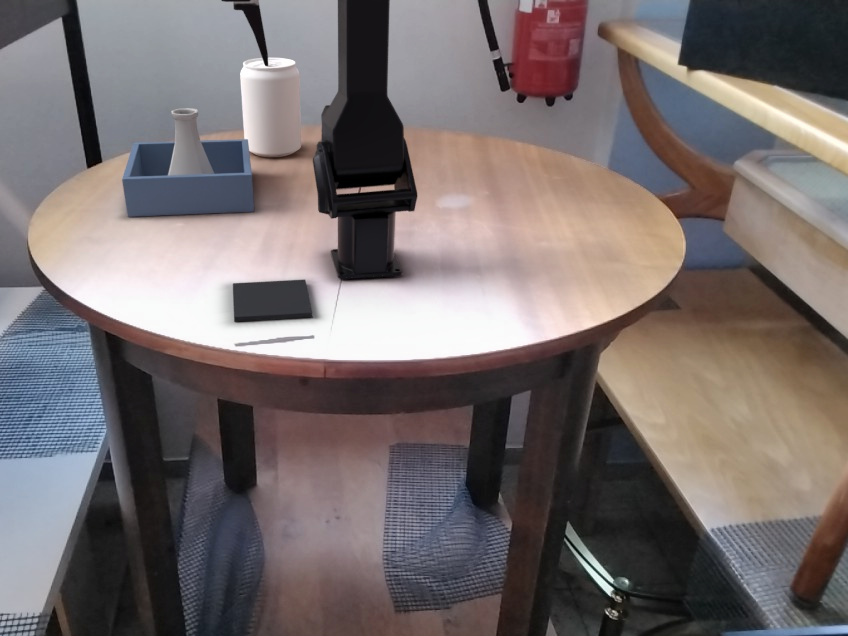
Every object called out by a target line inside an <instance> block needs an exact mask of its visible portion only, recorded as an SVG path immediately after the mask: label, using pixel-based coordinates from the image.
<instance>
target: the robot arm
mask: <svg viewBox="0 0 848 636" xmlns="http://www.w3.org/2000/svg"><path fill="white" fill-rule="evenodd" d="M220 1H221V2H225V3H232V4H233V5H232V6H233V10H234V11H242V12H243V15H244V16H245V18H246V20H247V22H248V25H249V27H250V29H251V30H252V32H253V35H254V38H255V41H256V44H257V47H258V49H259V52H260V56H261V58H262V59H263V62H264V64H265V66H268V58H269V53H268V47H267V42H266V36H265V31H264V25H263V18H262V13H261V7H260V1H259V0H220ZM390 1H391V0H337V92H336V94H335V96H334V97H333V99H332V101H331V103H330V104H328V105H327V104H326V105H324V107H323V110H322V112H321V116H320V119H321V120H320V121H321V140H320V141H317V144H316V151H315V153H314V156H313V157H312V166H313V171H314V179H315V186H316V192H317V212H318V213H319V214H324V215H328V216H329V218H330V219H337V248H333V249H331V250H330V257H331V260H332V263H333V267H334V270H335V274H336V277H337V278H338V279H339V280H350V279H351V280H353V279H370V278H389V277H400V276H402V275H403V268H402V266H401V265H400V261H399V260H398V258H397V256H396V254H395V237H396V236H395V235H396V215H397V213H401V212H409V213H410V212H415V210H416V205H417V200H418V190H417V185H416V181H415V176H414V173H413V167H412V161H411V158H410V153H409V148H408V144H407V141H406V138H405V136H404V135H405V129H404V128H405V127H404V123H403V121H402V119H401V118H400V116H399V114H398V112H397V110H396V108H395V107H394V105H393V104H392V102H391V100H390V98H389V95H388V83H389V81H388V80H389V79H388V78H389V46H390V45H389V42H390V41H389V40H390V38H389V37H390V3H391V2H390ZM387 186H388V187H389V186H393V189H386V190H373V191H361V192H351V193H350V192H349V193H337V191H339V190H351V189H363V188H375V187H387Z"/></svg>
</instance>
